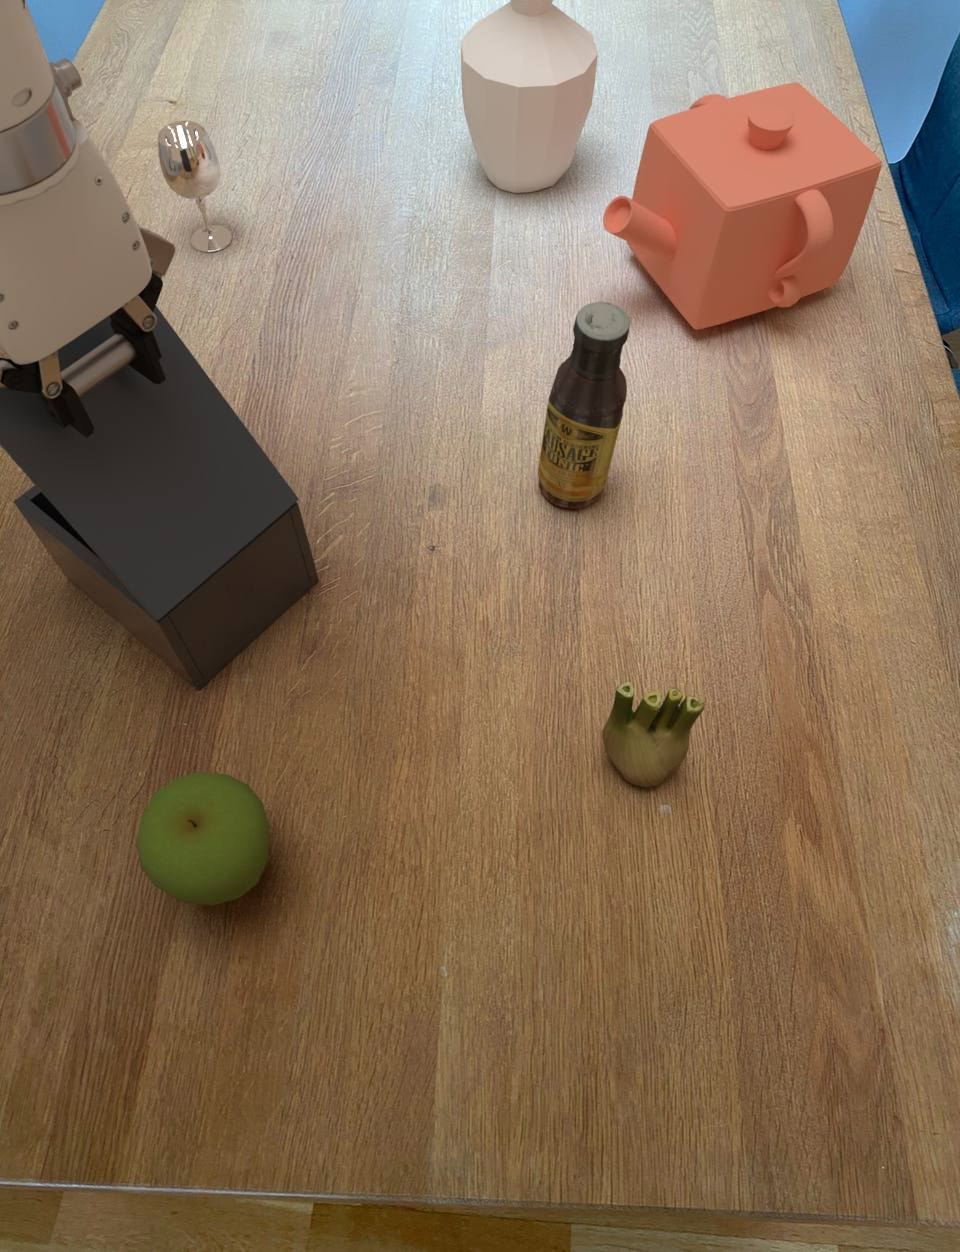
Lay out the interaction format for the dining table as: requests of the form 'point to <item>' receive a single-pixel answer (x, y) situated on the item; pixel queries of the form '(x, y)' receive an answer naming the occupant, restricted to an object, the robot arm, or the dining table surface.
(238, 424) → the lid
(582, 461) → the sauce bottle
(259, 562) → the chest
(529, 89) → the vase
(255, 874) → the apple
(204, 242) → the wineglass
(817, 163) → the teapot
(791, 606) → the dining table surface
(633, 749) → the fennel bulb
